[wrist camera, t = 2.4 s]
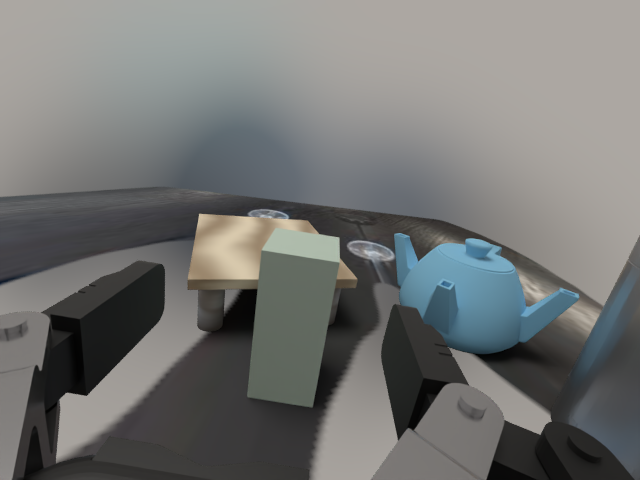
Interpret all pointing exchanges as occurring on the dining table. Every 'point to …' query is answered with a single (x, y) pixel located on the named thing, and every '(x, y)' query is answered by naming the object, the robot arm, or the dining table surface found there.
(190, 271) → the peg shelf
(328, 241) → the sage post
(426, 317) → the teapot
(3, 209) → the dining table surface
